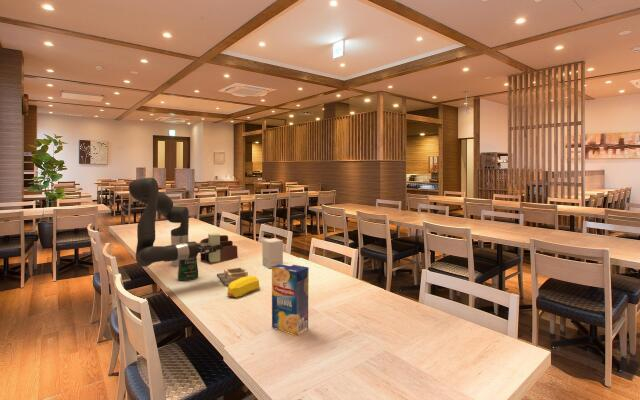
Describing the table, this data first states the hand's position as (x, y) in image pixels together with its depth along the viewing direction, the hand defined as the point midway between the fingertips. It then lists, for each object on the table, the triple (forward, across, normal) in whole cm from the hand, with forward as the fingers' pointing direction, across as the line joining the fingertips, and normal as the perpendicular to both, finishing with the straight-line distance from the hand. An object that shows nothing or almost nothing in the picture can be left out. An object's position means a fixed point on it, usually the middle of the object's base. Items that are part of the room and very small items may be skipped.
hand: (219, 245), depth 174 cm
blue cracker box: (-6, -63, +18) cm, 66 cm away
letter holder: (+19, +36, +18) cm, 45 cm away
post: (-3, 0, +7) cm, 7 cm away
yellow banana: (+1, -22, +18) cm, 28 cm away
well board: (+7, -2, +18) cm, 19 cm away
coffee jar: (-10, +14, +18) cm, 25 cm away
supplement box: (+35, +5, +18) cm, 40 cm away
